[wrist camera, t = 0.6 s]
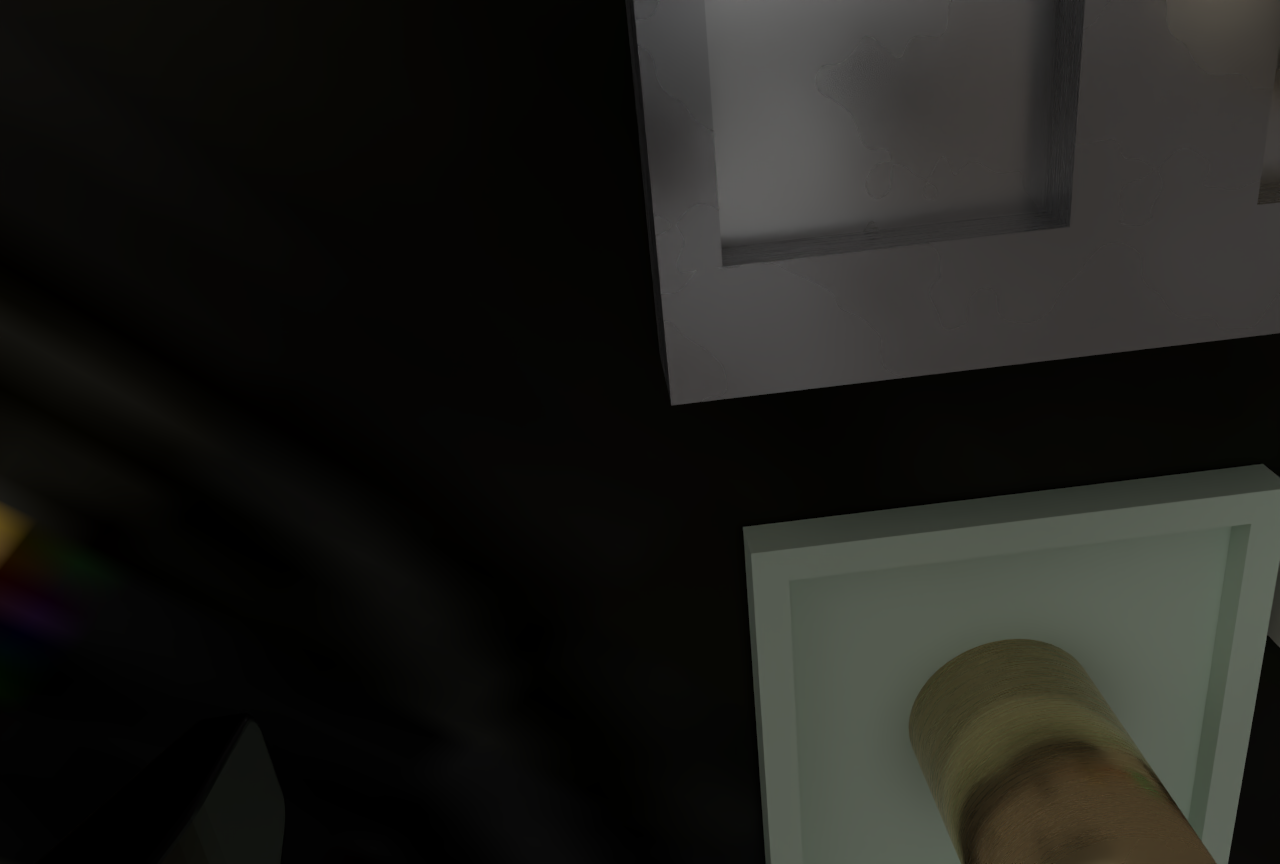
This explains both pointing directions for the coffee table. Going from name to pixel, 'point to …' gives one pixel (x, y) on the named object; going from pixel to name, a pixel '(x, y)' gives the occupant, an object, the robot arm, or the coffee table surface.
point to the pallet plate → (951, 183)
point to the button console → (1275, 613)
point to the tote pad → (1001, 610)
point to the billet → (1040, 765)
